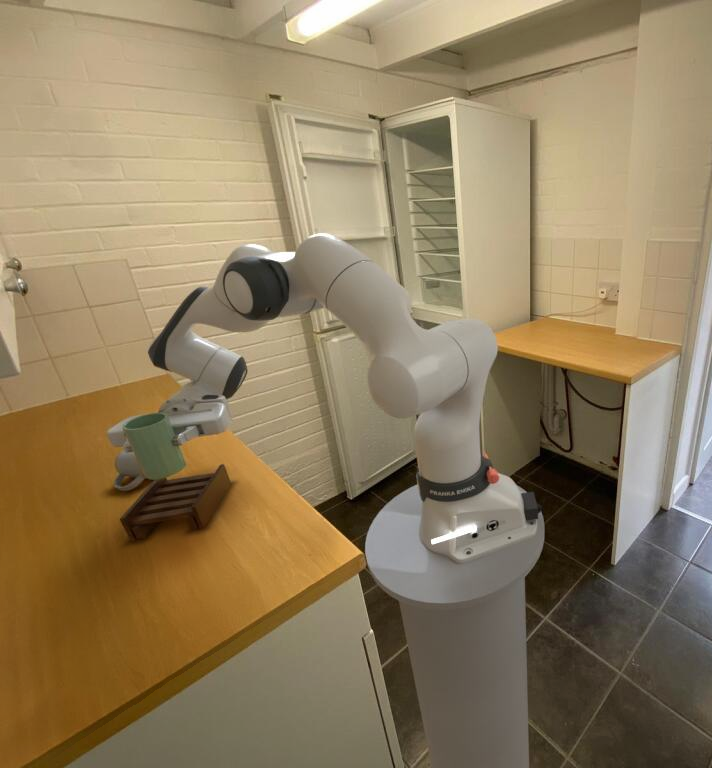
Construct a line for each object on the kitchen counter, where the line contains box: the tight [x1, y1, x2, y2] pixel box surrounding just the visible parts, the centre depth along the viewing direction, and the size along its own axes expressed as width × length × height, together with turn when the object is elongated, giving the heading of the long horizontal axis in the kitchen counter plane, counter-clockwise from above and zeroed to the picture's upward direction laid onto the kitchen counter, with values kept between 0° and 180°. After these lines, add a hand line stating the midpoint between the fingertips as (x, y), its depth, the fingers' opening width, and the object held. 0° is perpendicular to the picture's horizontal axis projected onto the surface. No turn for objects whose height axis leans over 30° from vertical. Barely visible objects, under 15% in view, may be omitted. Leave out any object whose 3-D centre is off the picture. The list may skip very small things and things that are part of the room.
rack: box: [119, 463, 232, 542], centre depth 87 cm, size 13×15×6 cm
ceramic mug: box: [113, 449, 147, 492], centre depth 98 cm, size 11×8×8 cm
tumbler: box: [122, 412, 188, 481], centre depth 80 cm, size 7×7×11 cm
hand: (153, 445), depth 79 cm, fingers closed on tumbler, 6 cm apart
